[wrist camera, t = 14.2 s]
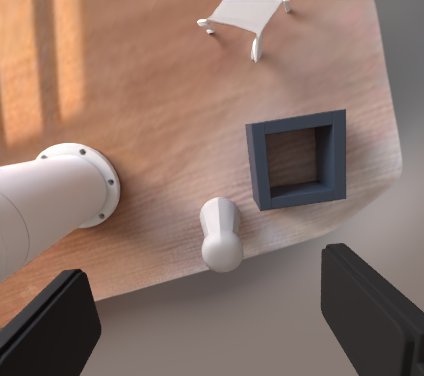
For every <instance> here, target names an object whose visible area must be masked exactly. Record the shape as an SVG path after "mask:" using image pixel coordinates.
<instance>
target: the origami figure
mask: <svg viewBox="0 0 424 376" xmlns="http://www.w3.org/2000/svg"><path fill="white" fill-rule="evenodd" d="M288 1H290V0H283V5H284V8H285V10H286V12H287V13H288V12H289V11H290V7H289V4H288ZM281 2H282V0H223V1H222V3H221V4H220V5H219V7H218V8H217V9H216V10H215V12H214V13H213V14H212V16H210V17H208V18H207V19H206V20H199V21H198V24H199V26H201V27H203V28H206V29H208V30H207V32H208V33H212V32H215V30H216V29H215V28H213V27H211V26H210V25H208V23H211V22H212V23H217V24H222V25H229V26H235V27H238V28H242V29H245V30H249V31H252V32H255V33H256V39H255V41H254V42H253V45H252V52H251V59H252V60H253V59H254V61H255V62H256V63H257V62H258V60H259V59H260V57H261V53H262V29H263V28H264V26H265V25H266V23H267V22H268V20H269V19H270V17H271V16H272V15H273V13H274V12H275V10H276V9H277V7H278V6H279V5H280V3H281Z"/></svg>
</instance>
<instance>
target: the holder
mask: <svg viewBox="0 0 424 376" xmlns="http://www.w3.org/2000/svg"><path fill="white" fill-rule="evenodd" d="M245 126H246V135H247V144H248V152H249V161H250V170H251V179H252V188H253V197H254V201H255V202H256V204H257V206H258V208H259V209H260V211H264V210H271V209H277V208H284V207H292V206H299V205H306V204H313V203H320V202H327V201H334V200H341V199H346V109H343V110H336V111H329V112H322V113H316V114H310V115H303V116H297V117H291V118H284V119H278V120H272V121H265V122H259V123H253V124H246V125H245ZM313 127H315V139H316V165H317V181H312V182H305V183H298V184H292V185H285V186H278V187H271V188H270V184H269V173H268V162H267V151H266V140H265V135H268V134H274V133H281V132H287V131H294V130H300V129H307V128H313Z"/></svg>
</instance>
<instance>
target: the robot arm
mask: <svg viewBox="0 0 424 376" xmlns="http://www.w3.org/2000/svg"><path fill="white" fill-rule="evenodd" d="M85 151H86V153H85ZM112 180H113V181H114V183H113V182H112ZM119 198H120V183H119V178H118V176H117V173H116V171H115V169H114V168H113V166H112V165H111V163H110V162H109V161H108V160H107V159H106V158H105V157H104V156H103V155H102V154H100V153H99V152H98V151H96V150H94V149H92V148H91V147H88V146H85V145H82V144H75V143H65V144H59V145H55V146H52V147H50V148H48V149H46V150H45V151H43V152H42V153H41V154H40V155H39V156H38V157H37V158H36V160H35V161H30V162H24V163H19V164H13V165H8V166H2V167H0V284H1V283H2V282H4V281H5V280H6V279H8V278H9V277H10V276H12V275H13V274H15V273H16V272H17V271H19V270H20V269H22V268H23V267H24V266H26V265H27V264H28V263H30V262H31V261H32V260H34V259H35V258H37V257H38V256H39V255H41V254H42V253H43V252H45V251H46V250H47V249H49V248H50V247H51V246H53V245H54V244H56V243H57V242H58V241H60V240H61V239H62V238H64V237H65V236H66V235H68V234H69V233H71V232H72V231H73V230H75V229H76V228H88V227H92V226H96V225H98V224H100V223H102V222H103V221H104V220H106V219H107V218H108V217H109V216H110V215H111V214H112V213H113V212H114V210H115V209H116V207H117V205H118V202H119ZM103 214H104V215H103ZM321 311H322V314H323V316H324V318H325V320H326V321H327V323H328V325H329V326H330V328H331V330H332V331H333V333H334V335H335V336H336V338H337V340H338V341H339V343H340V345H341V347H342V348H343V350H344V352H345V353H346V355H347V357H348V358H349V360H350V362H351V363H352V365H353V367H354V368H355V370H356V372H357V373H358V375H359V376H424V312H423V311H422V310H420V309H419V308H418V307H417V306H416V305H415V304H414V303H412V302H411V301H410V300H409V299H408V298H406V297H405V296H404V295H403V294H402V293H401V292H400V291H399V290H397V289H396V288H395V287H394V286H393V285H392V284H390V283H389V282H388V281H387V280H386V279H385V278H383V277H382V276H381V275H380V274H379V273H378V272H377V271H375V270H374V269H373V268H372V267H371V266H369V265H368V264H367V263H366V262H365V261H364V260H362V259H361V258H360V257H359V256H358V255H357V254H355V252H353V251H352V250H351V249H350V248H349V247H347V246H346V245H345V244H343V243H339V244H329V245H327V246H326V249H323V250H322V264H321ZM100 335H101V324H100V320H99V317H98V313H97V310H96V306H95V302H94V299H93V295H92V292H91V288H90V285H89V281H88V278H87V275H86V273H85V272H82V270H81V269H73V270H64V271H62V272H61V273H60V274H59V275H58V276H57V277H56V278H55V279H54V280H53V281H52V282H51V283H50V284H49V285H48V286H47V287H46V288H44V289H43V290H42V291H41V292H40V293H39V294H38V295H37V296H36V297H35V298H34V299H33V300H32V301H31V302H30V303H29V304H28V305H27V306H26V307H25V308H24V309H23V310H22V311H21V312H20V313H19V314H17V315H16V316H15V317H14V318H13V319H12V320H11V321H10V322H9V323H8V324H7V325H6V326H5V327H4V328H3V329H2V330H1V331H0V376H79V375H80V373H81V372H82V370H83V368H84V366H85V364H86V362H87V360H88V358H89V357H90V355H91V353H92V351H93V349H94V347H95V345H96V343H97V342H98V339H99V338H100Z"/></svg>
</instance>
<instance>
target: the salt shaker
mask: <svg viewBox="0 0 424 376" xmlns="http://www.w3.org/2000/svg"><path fill="white" fill-rule="evenodd" d="M240 220H241V218H240V211H239V209H238V207H237V206H236V204H235V203H234V202H232V201H231V200H229V199H227V198H221V197H217V198H214V199H211V200H209V201H208V202H207V203H206V204H205V205H204V206H203V207H202V210H201V213H200V222H201V226H202V229H203V233H204V236H205V239H204V242H203V245H202V256H203V261H204V262H205V264H206V265H207V266H208V268H210V269H212V270H214V271H215V272H224V273H225V272H229V271H232V270H234V269H235V268H236V267H238V266H239V265H240V263H241V261H242V258H243V254H244V253H243V245H242V242H241V241H240V239H239V238H238V232H239V226H240Z"/></svg>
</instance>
